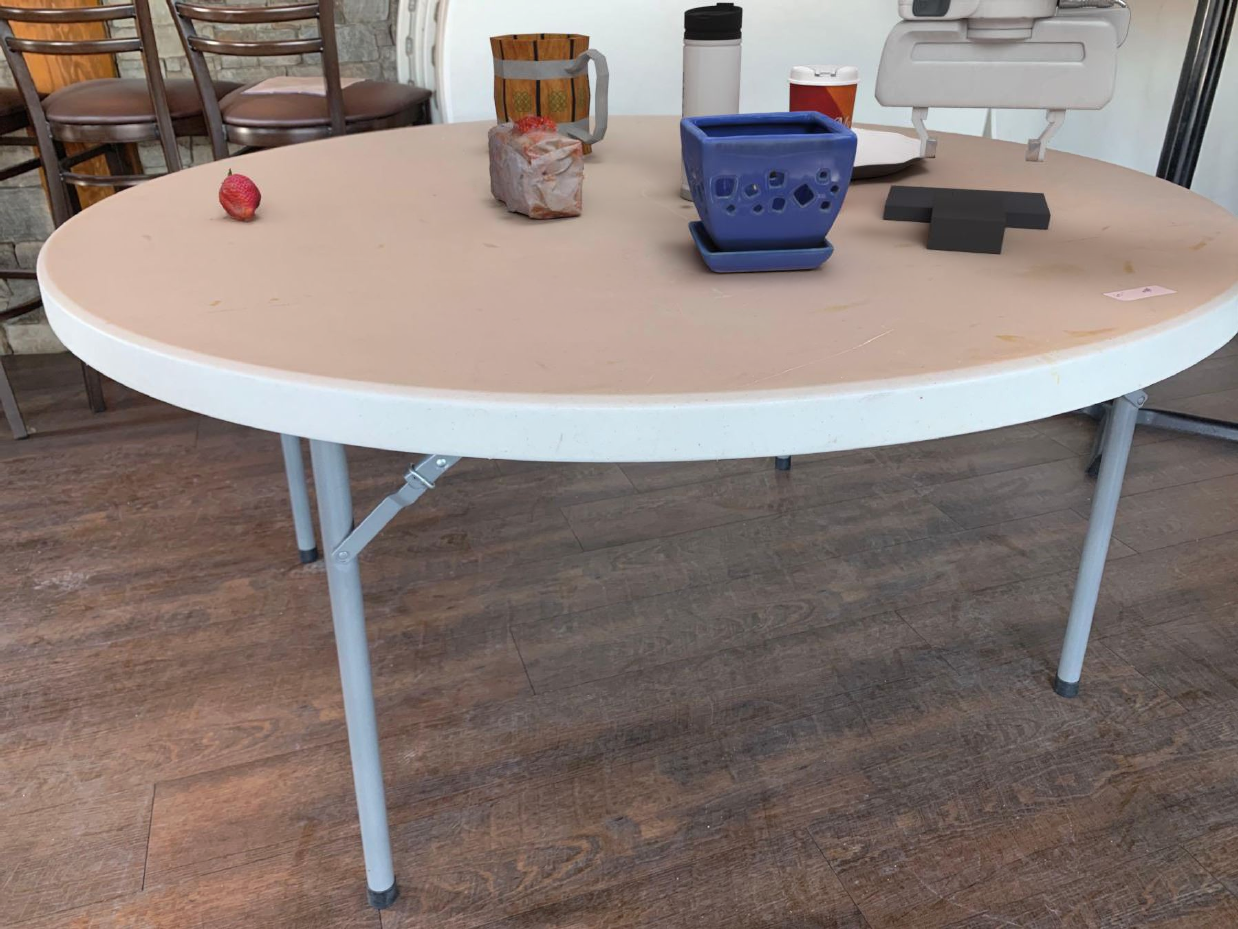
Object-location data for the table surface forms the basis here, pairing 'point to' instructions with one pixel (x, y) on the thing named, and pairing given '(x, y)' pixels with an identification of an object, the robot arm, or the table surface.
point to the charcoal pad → (919, 200)
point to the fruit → (239, 196)
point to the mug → (550, 82)
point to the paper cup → (824, 90)
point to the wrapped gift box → (536, 168)
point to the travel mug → (710, 65)
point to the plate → (882, 153)
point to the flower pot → (766, 187)
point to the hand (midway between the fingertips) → (979, 159)
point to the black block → (967, 222)
